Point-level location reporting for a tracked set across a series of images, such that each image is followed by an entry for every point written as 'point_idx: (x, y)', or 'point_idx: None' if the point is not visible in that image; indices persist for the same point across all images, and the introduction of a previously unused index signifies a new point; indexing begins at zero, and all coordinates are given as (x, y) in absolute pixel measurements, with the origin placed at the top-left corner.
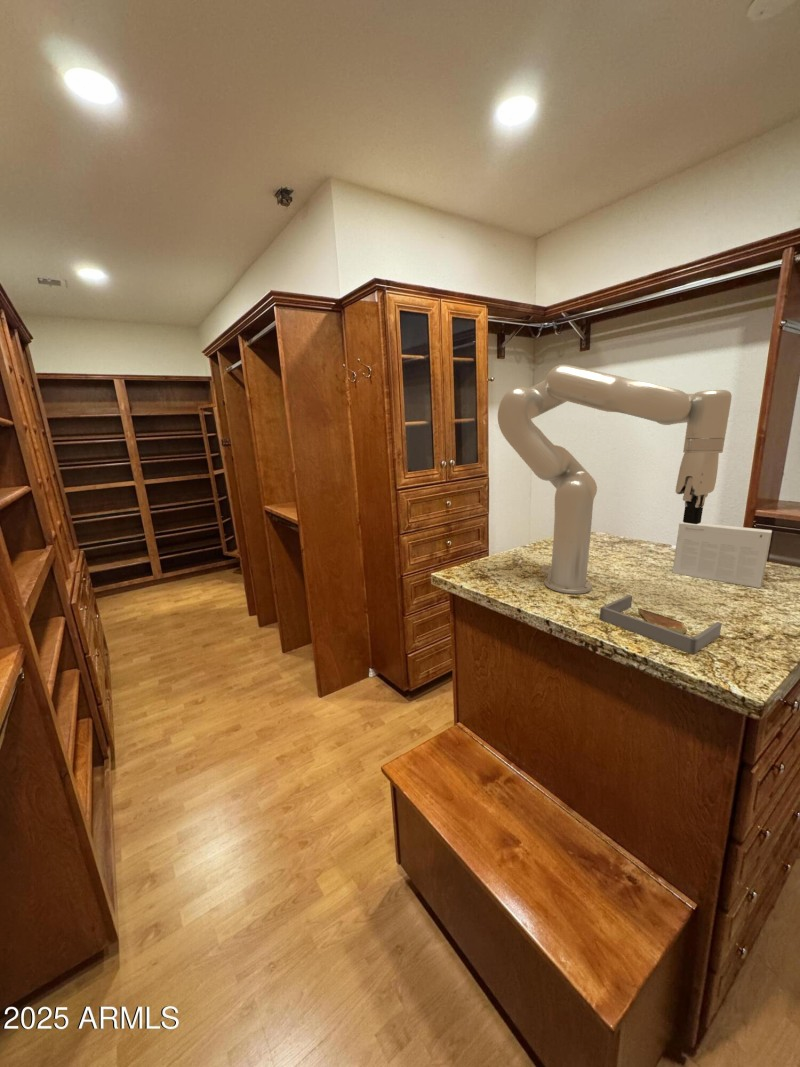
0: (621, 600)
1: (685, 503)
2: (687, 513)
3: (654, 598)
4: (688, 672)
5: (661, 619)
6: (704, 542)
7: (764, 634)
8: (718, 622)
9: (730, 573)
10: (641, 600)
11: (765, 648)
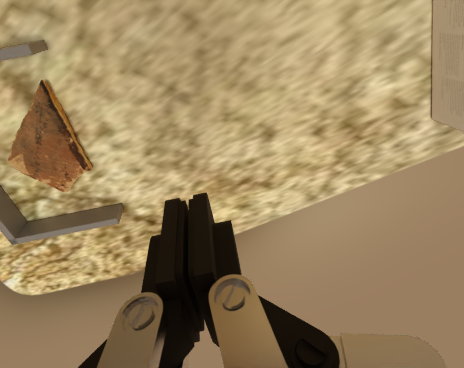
0: None
1: (113, 332)
2: (148, 267)
3: (161, 38)
4: None
5: (48, 149)
6: None
7: None
8: (114, 220)
9: (451, 68)
10: (113, 30)
11: None
